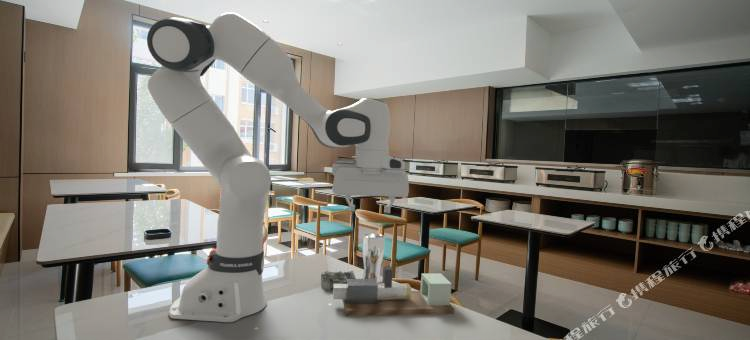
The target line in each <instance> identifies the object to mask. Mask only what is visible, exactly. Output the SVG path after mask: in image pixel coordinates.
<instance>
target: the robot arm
mask: <svg viewBox="0 0 750 340" xmlns="http://www.w3.org/2000/svg"><path fill="white" fill-rule="evenodd" d="M146 42H147V49H148V51H149V53H150V55H151V56H152V58H153V59H154V60H155V61H156V62H157V63H158V64H159V65H161V67H160V68H158V69H157V70H155V71H154V72H153V73H152V75H150V77H149V79H148V81H147V89H148V91H149V94H150V96H151V98H152V99H153V101H154V103H155V104H156V106H157V107H158V109H159V111H160V112H161V114H162V115H163V116H164V118H165V119H166V120H167V122H168V123H169V124H170V126H171V127H172V128H173V129H174V131H175V132H176V133H177V135H179V136H180V138H181V139H182V140H183V142H184V143H185V145H186V146H188V148H189V149H190V151H191V152H192V153H193V154H194V155H195V157H196V158H197V159H198V161H200V162H201V164H202V165H203V166H204V168H205V169H206V170H207V171H208V173H210V175H211V176H212V178H213V179H214V180H215V181H216V183H218V185H219V187H220V188H221V189H220V191H221V192H220V199H219V210H218V217H217V227H216V229H217V231H216V248H212V249H211V250H210V252H209V254H208V256H207V258H206V264H207V266H206V267H205V268H203V269H202V270H200V272H198V273H197V274H195V275H193V276H192V277H191V278H190V279H189V280H188V281H187V282H186V284H185V285H184V286H183V289H182V291H181V294H180V296H179V297H178V298H177V299H175V301H173V302H172V304H171V306H170V307H169V313H168V314H169V315H168V316H169V317H170V318H171V319H174V320H176V319H177V320H191V321H202V322H203V321H204V322H221V323H233V322H236V321H238V320H240V319H242V318H244V317H247V316H251V315H253V314H256V313H259V312H260V311H262V310H263V309H265V307H266V305H267V299H266V295H265V291H264V285H263V284H264V283H263V271H264V270H265V269H264V267H265V266H264V265H265V254H264V253H265V252H264V250H263V241H264V240H263V239H264V223H265V221H264V220H265V216H266V215H265V214H266V210H267V206H268V199H269V193H270V192H269V191H270V188H271V185H272V177H271V173H270V170H269V168H268V167H267V165H266V164H265V162H263V161H262V160H260V159H258V158H257V157H254V156H252V154H251V153H250V151H249V150H248V149H247V147H246V146H245V144H244V142H243V141H242V139H241V137H240V136H239V134H238V132H237V131H236V129H235V127H234V126H233V125H232V123H231V122H230V120H229V119H228V118H227V117H226V115H225V114H224V112H223V111H222V110H221V108H220V107H219V106H218V104H217V102H216V101H215V100H214V99H213V97H212V96H211V95H210V93H209V92H208V91H207V89H206V88H205V87H204V86H203V82H202V81H201V77H203V76H204V75H205V74H206V73H207V71H208V70H209V68H210V67H212V65H213V64H214V63H215V61H216V60H218V61H222V62H224V63H225V64H227V65H228V66H230V67H231V68H233V70H235V71H236V72H238V73H239V74H240V75H241V76H242V77H243V78H244V79H246V80H248V81H249V82H250V83H251V84H254V86H256V87H257V88H259V89H261V90H262V91H264V92H265V93H267V94H269V95H271V96H272V97H274V98H275V99H277V100H278V101H280V102H281V103H283V104H284V105H285V106H287V107H288V108H289V109H290V110H291V111H293V112H294V113H295V114H296V115H297V116H298V117H299V118H301V120H303V121H304V122H305V123H306V124H307V125H308V126H309V127H310V129H311V130H312V133H313V135H314V137H315V138H316V140H317V142H318V143H320V144H321V145H322V146H324V147H326V148H330V149H335V148H346V147H350V146H352V145H354V146H355V159H346V160H345V159H338V160H336V161H334V163H332V164H331V165H332V166H331V173H332V175H333V183H332V192H333V194H334V195H336V196H345V201H346V203H347V204H348V206H349V208H348V209H349V210H348V211H349V213H355V211H356V204H352V203H351V199H352V196H363V197H365V196H366V197H388V200H389V202H388V204H387V205H384V206H383V207H384V209H383V213H384V214H391V208H392V207H393V204H395V201H396V198H406V197H407V196H408V195H409V192H410V191H409V190H410V187H409V176H408V173H407V171H406V170H405V169H406V162H405V161H404V160H402V159H398V158H396V157H395V156H390V146H389V138H390V134H391V116H390V114H391V113H390V109H389V106H388V104H387V103H386V102H385V101H383V100H380V99H378V98H372V97H371V98H370V97H364V98H361V99H360V100H358V101H357V102H355V103H353V104H351V105H347V106H345V107H341V108H338V109H335V110H330V109H328V108H326V107H324V106H323V105H322V104H321V103H319V101H317V100H316V99H315V98H314V97H313V96H312V95H311V94H310V93H308V91H307V90H306V89H304V87H302V84H301V83H300V81H299V80H298V77H297V74H296V71H295V67H294V62H293V60H292V59H291V57H290V56H289V55H288V53H286V51H285V49H283V47H281V45H279V43H277V41H275V39H273V38H272V37H271V36H270V35H268V34H267V33H266V32H265V31H263V30H262V29H261V28H260V27H258V26H257V25H256V24H254V23H252V22H251V21H250V20H248V19H246V17H243V16H241V14H238V13H235V12H231V11H230V12H225V13H222V14H221V15H219V16H217V17H216V18H215V19H214V20H213V21H212V22H211V24H209V25H206V24H205V23H201V22H199V21H198V22H197V21H194V20H192V19H188V18H182V17H176V16H174V17H173V16H172V17H165V18H162V19H160V20H158V21H156V22H155V23H154V24H152V26H150V28H149V30H148V33H147V38H146Z"/></svg>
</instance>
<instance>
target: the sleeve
mask: <svg viewBox="0 0 750 340" xmlns="http://www.w3.org/2000/svg"><path fill="white" fill-rule="evenodd" d="M346 284H347V286H348V289H347V299H346V303H347V304H377V292H378V285H377V283H376V280H375V279H362V278H356V279H346Z"/></svg>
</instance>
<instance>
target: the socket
mask: <svg viewBox="0 0 750 340" xmlns="http://www.w3.org/2000/svg"><path fill="white" fill-rule="evenodd" d="M420 277H421V278H420V288H419V289H420V290H419V291H420V294H421V296H422V297H423V298H424V300H425V301H426V302H427V304H428V305H429V306H433V305H450V304H451V297H452V296H451V295H452V283H451V281H449V279H447V277H445V276H444V274H442V273H439V272H438V273H432V272H431V273H426V272H425V273H421V276H420Z"/></svg>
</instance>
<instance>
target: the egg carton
mask: <svg viewBox="0 0 750 340" xmlns="http://www.w3.org/2000/svg"><path fill="white" fill-rule="evenodd" d="M346 279H357V278H356V275H355V273H354V271H353V270H351V271H343V272H342V271H328V270H326V271H324V272H322V273H321V274H320V284H321V288H322V289H325V290H331V289H333V284H346Z"/></svg>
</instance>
